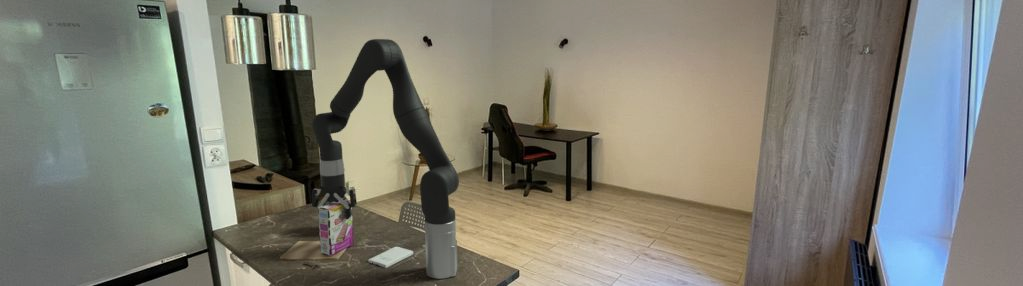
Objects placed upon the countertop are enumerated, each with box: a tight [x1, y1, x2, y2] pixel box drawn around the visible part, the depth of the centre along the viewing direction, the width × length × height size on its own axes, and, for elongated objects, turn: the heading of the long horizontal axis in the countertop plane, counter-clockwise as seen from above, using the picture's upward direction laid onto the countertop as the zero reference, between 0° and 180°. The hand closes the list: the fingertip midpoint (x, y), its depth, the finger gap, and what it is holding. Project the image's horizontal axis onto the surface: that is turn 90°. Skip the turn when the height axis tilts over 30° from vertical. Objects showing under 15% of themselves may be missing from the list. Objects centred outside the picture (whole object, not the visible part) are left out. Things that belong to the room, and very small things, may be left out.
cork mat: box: [279, 240, 348, 261], centre depth 162 cm, size 19×14×1 cm
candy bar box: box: [317, 199, 355, 256], centre depth 160 cm, size 11×5×16 cm, turn 157°
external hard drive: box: [367, 246, 414, 269], centre depth 157 cm, size 2×8×12 cm
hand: (335, 218), depth 160 cm, fingers open, 8 cm apart
